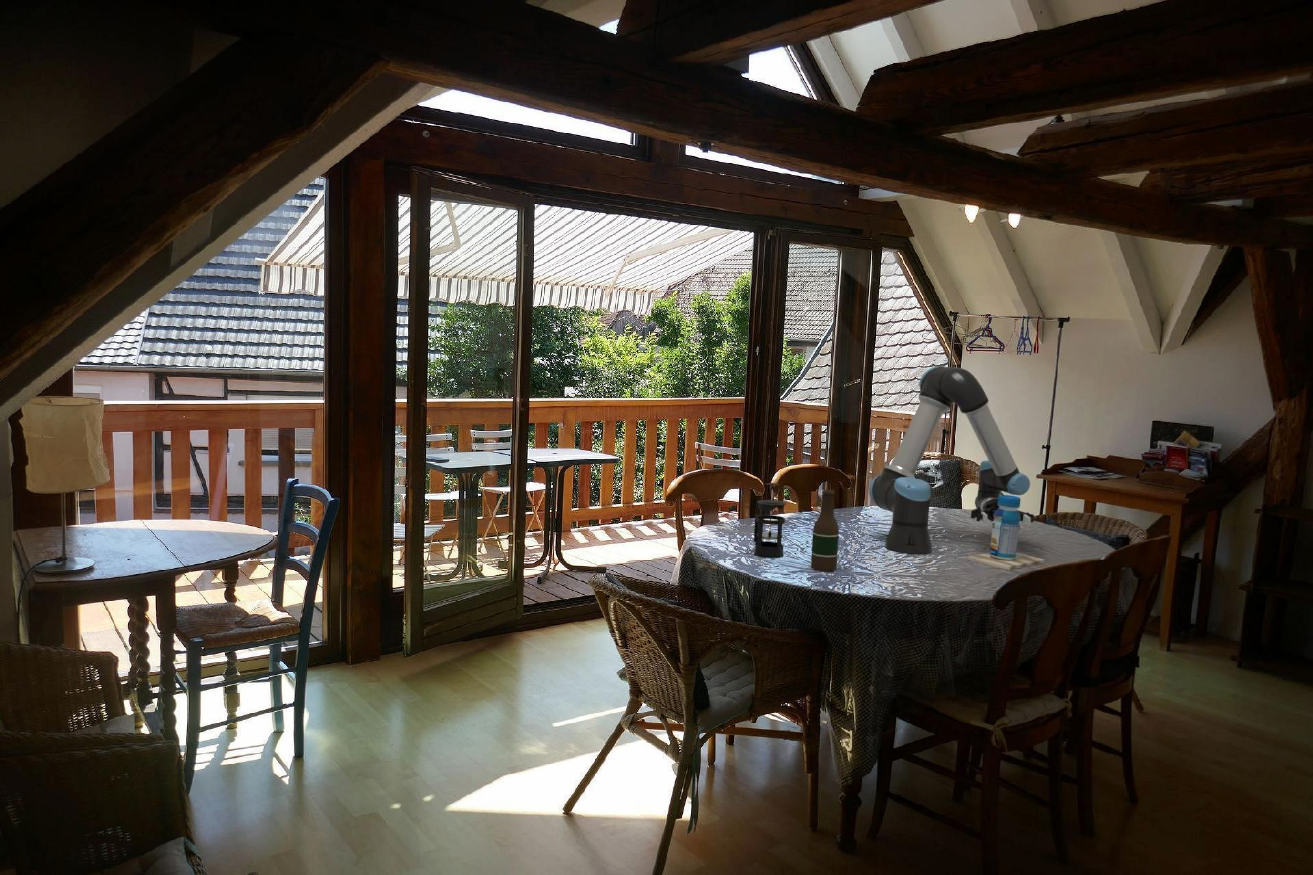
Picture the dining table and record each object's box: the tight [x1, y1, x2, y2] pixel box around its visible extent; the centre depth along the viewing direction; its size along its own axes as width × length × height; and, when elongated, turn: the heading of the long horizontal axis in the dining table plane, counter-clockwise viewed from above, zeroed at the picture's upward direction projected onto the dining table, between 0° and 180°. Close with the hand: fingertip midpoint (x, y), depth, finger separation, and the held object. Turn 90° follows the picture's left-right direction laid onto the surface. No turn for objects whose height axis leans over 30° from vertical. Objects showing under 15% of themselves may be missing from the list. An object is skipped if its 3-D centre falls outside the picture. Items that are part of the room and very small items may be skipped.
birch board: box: [966, 552, 1045, 571], centre depth 309 cm, size 20×15×1 cm
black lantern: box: [753, 482, 787, 559], centre depth 303 cm, size 12×9×23 cm
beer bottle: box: [810, 489, 840, 573], centre depth 287 cm, size 8×8×24 cm
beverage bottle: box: [988, 494, 1022, 560], centre depth 308 cm, size 8×8×20 cm
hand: (1007, 520), depth 312 cm, fingers open, 13 cm apart
